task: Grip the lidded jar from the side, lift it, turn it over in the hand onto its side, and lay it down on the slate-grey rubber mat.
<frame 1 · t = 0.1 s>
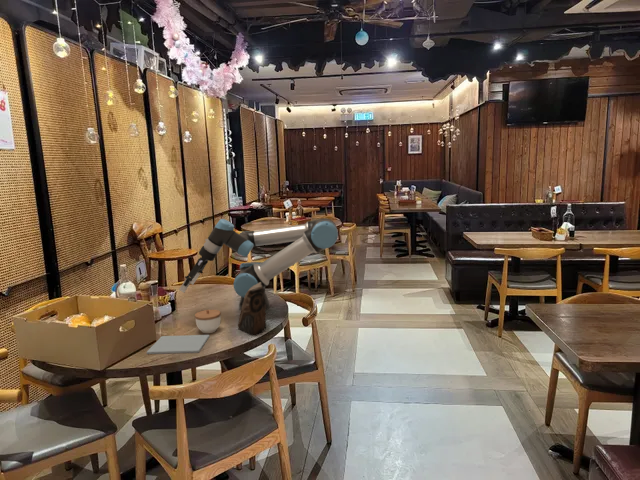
hand: (186, 287, 204), 15 cm above the table, tool tilted 35°, fingers open, 13 cm apart
lidded jar: (209, 331, 190), on the table
owl: (252, 329, 190), on the table
mat: (179, 344, 176), on the table
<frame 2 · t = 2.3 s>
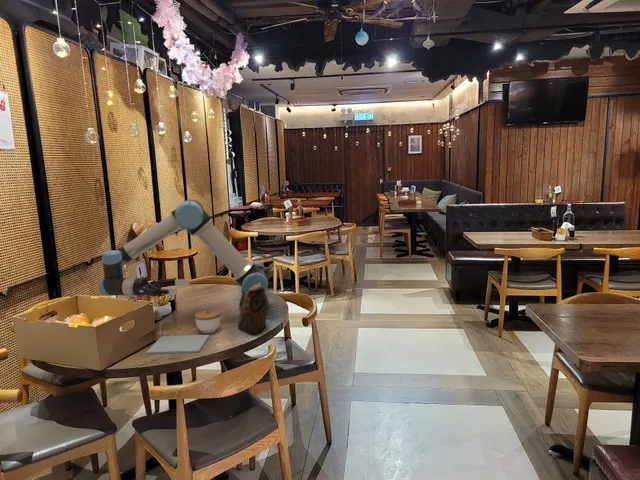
hand: (183, 286, 188), 20 cm above the table, tool horizontal, fingers open, 13 cm apart
nothing on the table moved.
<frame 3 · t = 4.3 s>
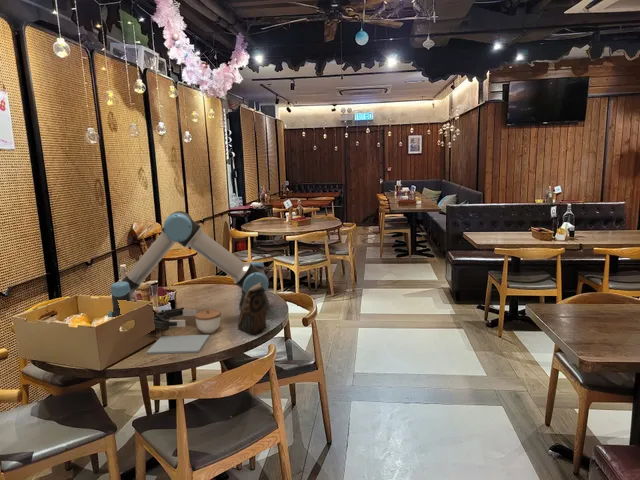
hand: (191, 317, 190), 6 cm above the table, tool horizontal, fingers open, 13 cm apart
nothing on the table moved.
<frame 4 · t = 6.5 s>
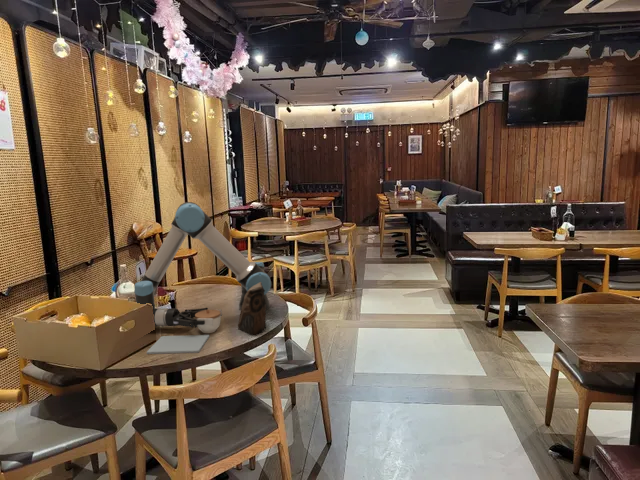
hand: (217, 317, 189), 6 cm above the table, tool horizontal, fingers closed on lidded jar, 11 cm apart
lidded jar: (209, 331, 190), on the table, touching gripper
everything else where it was.
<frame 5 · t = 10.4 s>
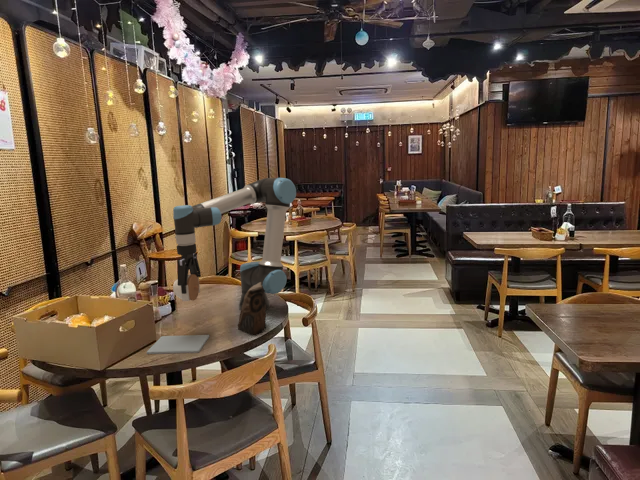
hand: (191, 296, 181), 17 cm above the table, tool pointing down, fingers closed on lidded jar, 11 cm apart
lidded jar: (175, 287, 181), point 21 cm above the table, touching gripper
everything else where it was.
when the fingers open (4 cm above the table, at t = 14.0 s): lidded jar drops 2 cm, resting on mat.
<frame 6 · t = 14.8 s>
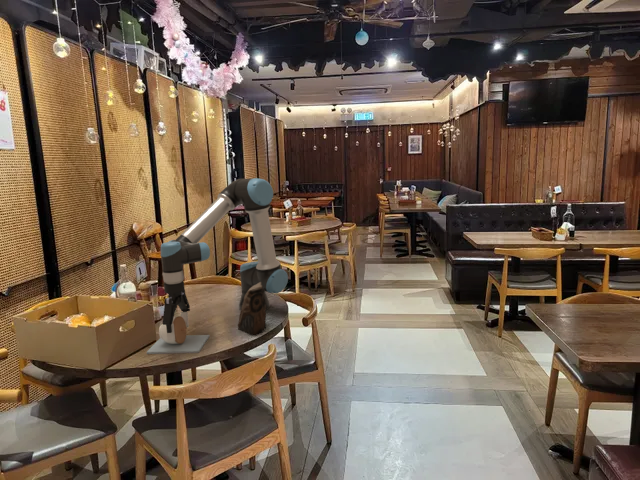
hand: (178, 333, 175), 5 cm above the table, tool pointing down, fingers open, 13 cm apart
lidded jar: (162, 332, 175), point 5 cm above the table, touching mat
everything else where it was.
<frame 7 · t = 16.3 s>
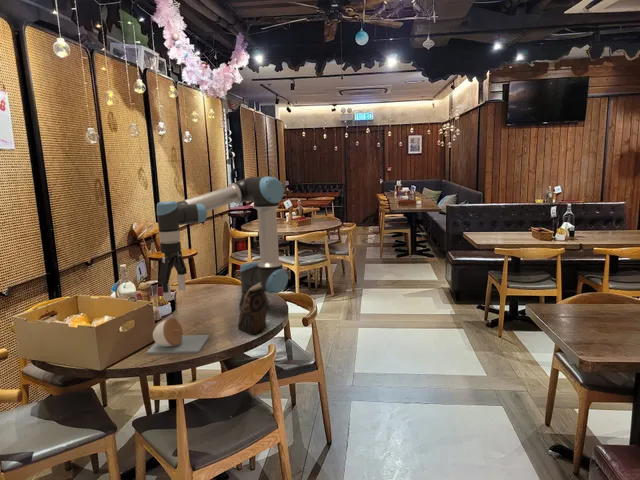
hand: (175, 295, 172), 21 cm above the table, tool pointing down, fingers open, 13 cm apart
lidded jar: (157, 336, 173), point 5 cm above the table, touching mat
everything else where it was.
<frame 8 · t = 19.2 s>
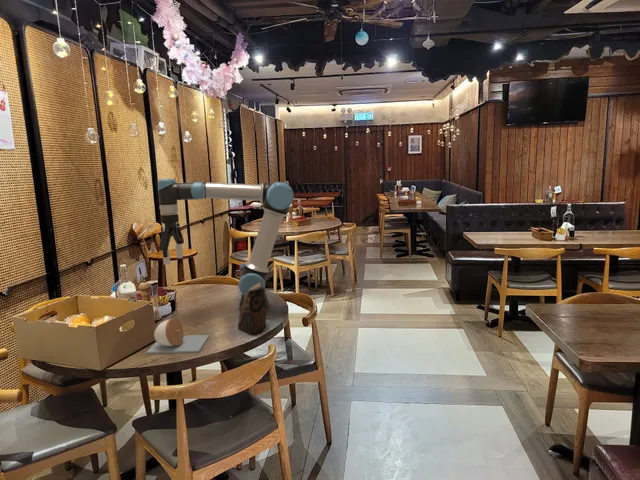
hand: (173, 261, 198), 29 cm above the table, tool pointing down, fingers open, 13 cm apart
at the end: lidded jar tilted 76°; lidded jar touching mat; lidded jar inside the target area on the mat (6.2 cm from its centre), point 4.7 cm above the mat's base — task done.
